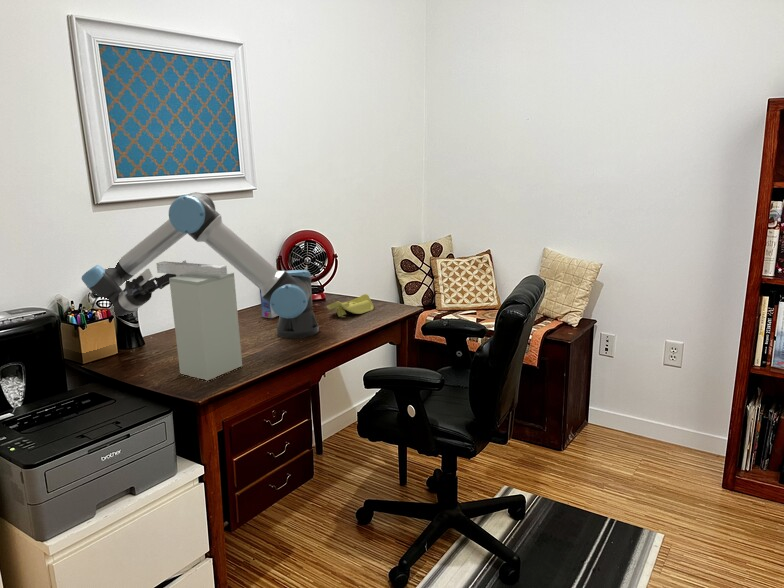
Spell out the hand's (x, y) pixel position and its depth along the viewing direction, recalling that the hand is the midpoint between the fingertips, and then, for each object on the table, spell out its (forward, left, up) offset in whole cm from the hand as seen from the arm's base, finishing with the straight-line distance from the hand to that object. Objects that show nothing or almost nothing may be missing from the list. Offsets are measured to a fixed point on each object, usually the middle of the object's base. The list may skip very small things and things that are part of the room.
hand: (168, 268), depth 192 cm
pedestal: (-7, +12, -31) cm, 34 cm away
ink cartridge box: (-43, -39, -31) cm, 66 cm away
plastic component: (-70, -25, -31) cm, 81 cm away
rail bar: (-5, +9, -1) cm, 10 cm away
